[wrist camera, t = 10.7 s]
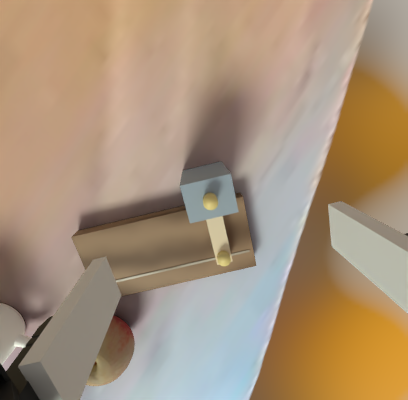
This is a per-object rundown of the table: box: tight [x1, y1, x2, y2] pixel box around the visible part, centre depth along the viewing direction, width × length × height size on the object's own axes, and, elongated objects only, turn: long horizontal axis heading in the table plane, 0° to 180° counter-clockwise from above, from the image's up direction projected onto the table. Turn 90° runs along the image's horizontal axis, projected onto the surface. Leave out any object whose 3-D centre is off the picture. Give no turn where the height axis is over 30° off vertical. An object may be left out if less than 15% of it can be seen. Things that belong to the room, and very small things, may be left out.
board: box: [72, 193, 256, 296], centre depth 33 cm, size 10×22×2 cm, turn 103°
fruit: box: [86, 315, 134, 386], centre depth 34 cm, size 8×8×8 cm
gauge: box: [180, 161, 239, 266], centre depth 29 cm, size 12×5×9 cm, turn 13°
